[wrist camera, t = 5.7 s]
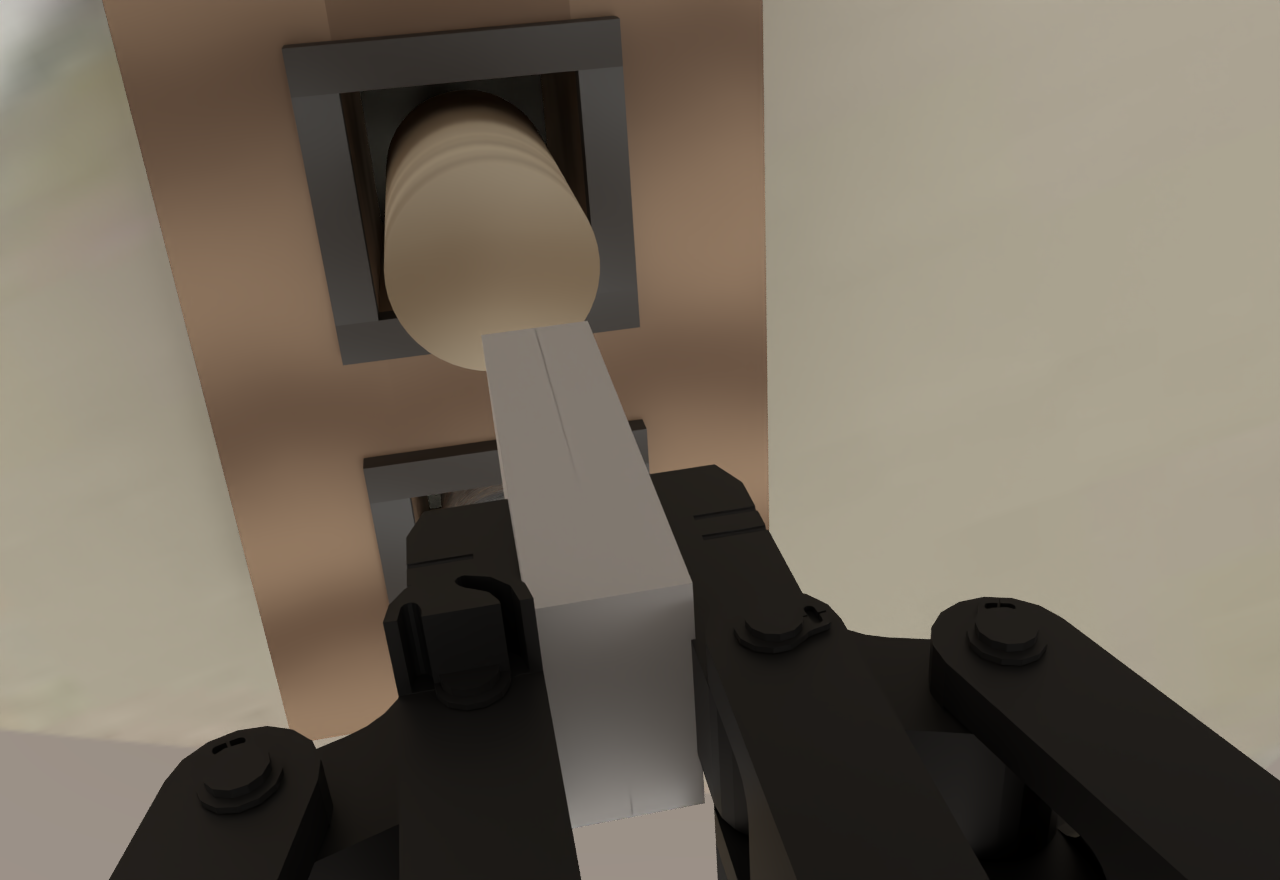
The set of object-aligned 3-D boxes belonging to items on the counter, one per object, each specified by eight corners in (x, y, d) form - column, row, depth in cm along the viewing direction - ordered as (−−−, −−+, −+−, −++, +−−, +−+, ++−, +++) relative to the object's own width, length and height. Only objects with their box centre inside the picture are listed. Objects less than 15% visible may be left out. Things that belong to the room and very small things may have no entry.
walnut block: (167, -38, 30) (92, -10, 23) (681, -78, 32) (769, -64, 25) (311, 588, 39) (291, 758, 32) (706, 527, 41) (776, 673, 34)
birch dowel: (373, 98, 27) (367, 176, 20) (540, 82, 28) (591, 152, 21) (399, 260, 29) (402, 384, 22) (556, 242, 30) (607, 356, 23)
